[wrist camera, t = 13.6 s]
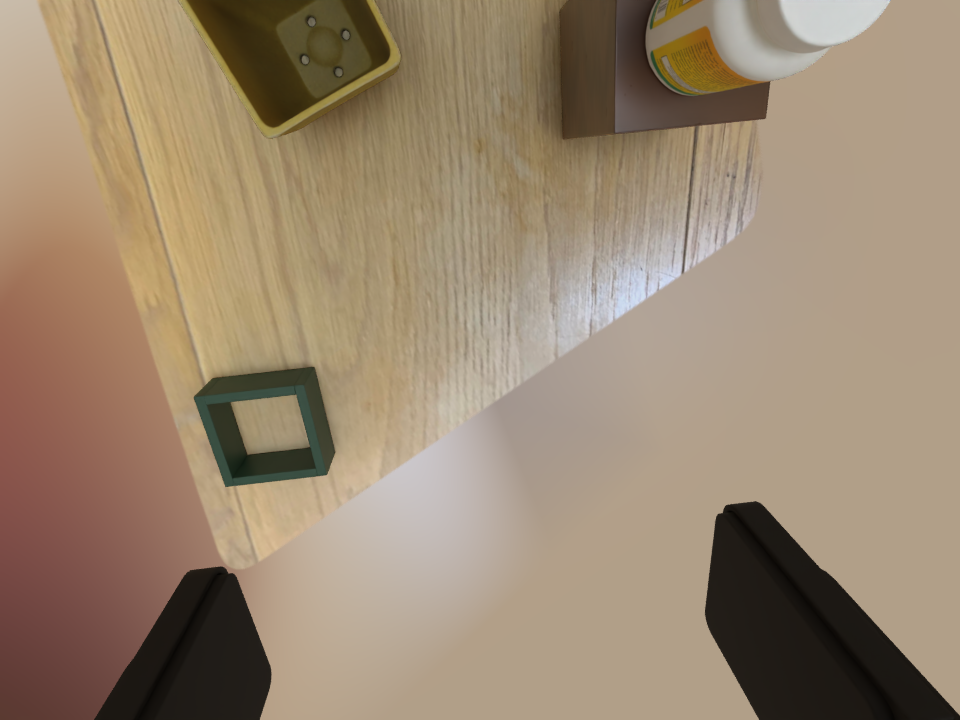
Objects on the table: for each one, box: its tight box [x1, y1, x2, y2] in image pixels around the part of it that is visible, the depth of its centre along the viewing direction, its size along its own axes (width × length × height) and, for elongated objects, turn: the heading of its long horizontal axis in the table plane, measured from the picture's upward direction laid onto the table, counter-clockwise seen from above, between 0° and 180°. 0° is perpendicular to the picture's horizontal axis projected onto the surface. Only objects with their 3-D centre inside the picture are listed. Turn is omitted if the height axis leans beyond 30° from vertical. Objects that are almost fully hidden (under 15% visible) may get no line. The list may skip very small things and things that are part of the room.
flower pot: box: [178, 0, 401, 139], centre depth 29 cm, size 9×9×9 cm
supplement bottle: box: [646, 0, 891, 96], centre depth 20 cm, size 5×5×10 cm
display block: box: [560, 0, 770, 139], centre depth 30 cm, size 8×8×12 cm
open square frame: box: [194, 367, 335, 487], centre depth 42 cm, size 9×9×4 cm
